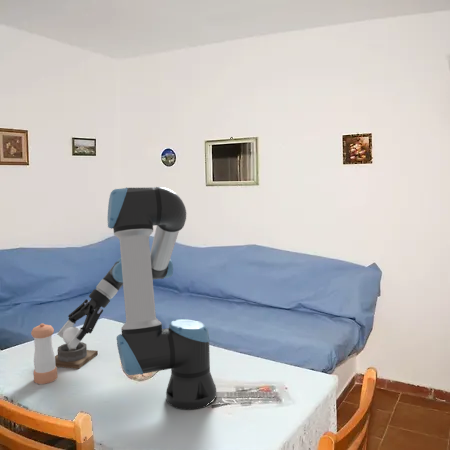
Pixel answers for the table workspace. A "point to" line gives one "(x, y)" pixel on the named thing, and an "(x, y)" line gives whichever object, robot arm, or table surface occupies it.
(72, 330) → the lightbulb
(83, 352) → the grey bowl on board
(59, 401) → the table surface
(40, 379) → the salt shaker
